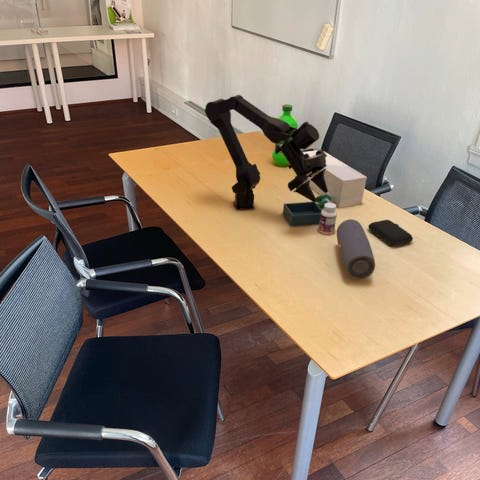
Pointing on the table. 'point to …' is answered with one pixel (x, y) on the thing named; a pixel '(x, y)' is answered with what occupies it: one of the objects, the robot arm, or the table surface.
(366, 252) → the bluetooth speaker
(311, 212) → the tray
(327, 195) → the gaming controller
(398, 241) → the carrying case
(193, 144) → the table surface
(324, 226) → the pill bottle
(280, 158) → the plastic bottle
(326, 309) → the table surface
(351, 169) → the long white box
